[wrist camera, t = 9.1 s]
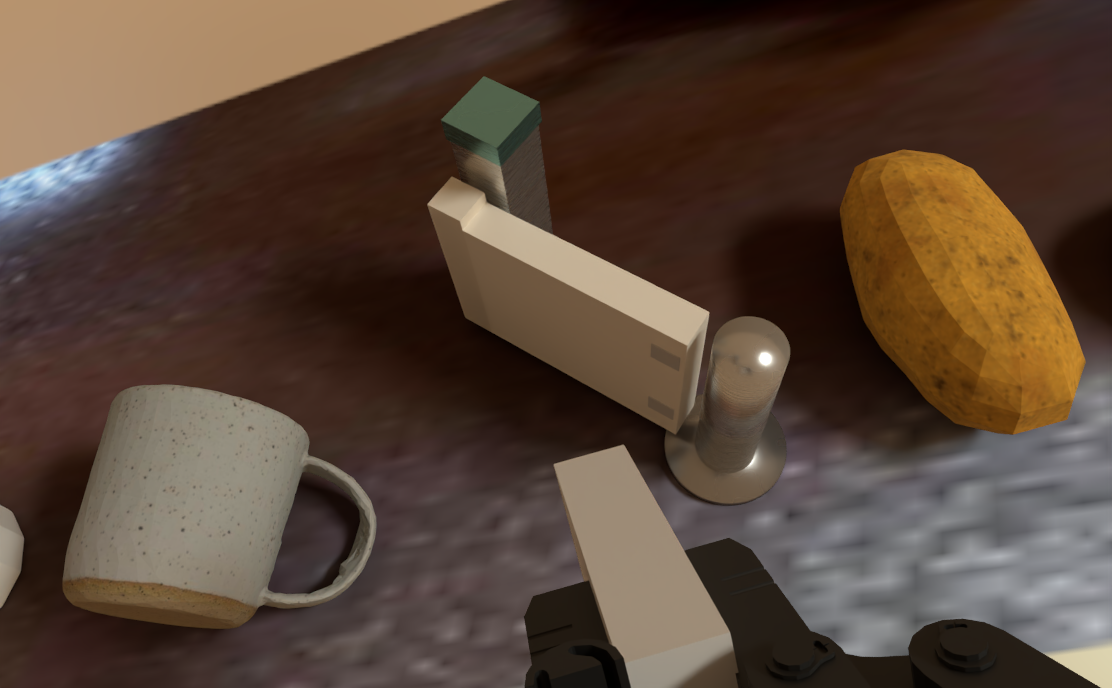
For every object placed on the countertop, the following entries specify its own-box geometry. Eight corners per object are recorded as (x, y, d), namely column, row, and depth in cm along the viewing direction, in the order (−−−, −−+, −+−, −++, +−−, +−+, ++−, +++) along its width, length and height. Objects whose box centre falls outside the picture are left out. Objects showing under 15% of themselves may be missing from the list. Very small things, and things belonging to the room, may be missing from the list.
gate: (694, 405, 37) (711, 302, 29) (675, 435, 36) (687, 338, 29) (485, 292, 40) (452, 175, 33) (464, 318, 40) (426, 205, 32)
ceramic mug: (114, 630, 34) (-6, 588, 28) (173, 445, 38) (79, 370, 32) (363, 648, 33) (301, 610, 27) (397, 457, 37) (350, 382, 31)
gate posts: (452, 293, 41) (392, 119, 31) (526, 229, 43) (493, 42, 32) (734, 530, 34) (781, 410, 24) (809, 444, 36) (884, 296, 26)
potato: (898, 481, 35) (953, 415, 29) (800, 224, 42) (829, 128, 36) (1078, 449, 35) (1170, 376, 29) (951, 198, 42) (1004, 98, 36)
